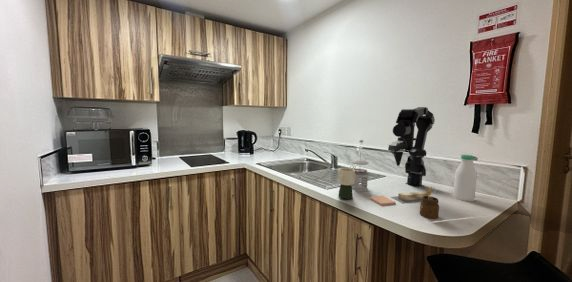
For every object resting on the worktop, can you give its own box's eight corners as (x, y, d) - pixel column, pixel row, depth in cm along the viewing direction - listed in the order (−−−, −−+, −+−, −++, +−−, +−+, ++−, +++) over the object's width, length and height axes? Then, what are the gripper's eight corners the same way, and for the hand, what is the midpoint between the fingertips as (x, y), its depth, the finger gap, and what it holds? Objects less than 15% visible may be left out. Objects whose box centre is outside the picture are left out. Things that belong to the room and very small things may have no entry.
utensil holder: (439, 216, 85) (442, 185, 84) (435, 221, 81) (438, 188, 79) (422, 211, 89) (424, 181, 88) (416, 216, 85) (419, 184, 84)
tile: (382, 195, 103) (369, 196, 101) (395, 202, 96) (381, 203, 94) (382, 199, 103) (369, 200, 102) (395, 206, 96) (381, 207, 94)
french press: (373, 190, 114) (376, 140, 111) (356, 193, 109) (358, 141, 106) (359, 185, 123) (361, 138, 120) (342, 187, 117) (344, 139, 115)
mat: (423, 195, 108) (423, 194, 108) (437, 201, 101) (437, 200, 100) (389, 197, 104) (390, 196, 104) (402, 204, 96) (402, 203, 96)
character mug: (343, 193, 110) (344, 166, 108) (357, 196, 105) (359, 168, 104) (332, 199, 101) (333, 170, 100) (347, 203, 97) (349, 173, 95)
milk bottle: (478, 203, 99) (483, 157, 97) (457, 201, 101) (462, 156, 99) (468, 196, 107) (473, 154, 104) (449, 195, 108) (453, 153, 106)
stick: (424, 196, 105) (425, 191, 105) (428, 198, 103) (429, 193, 103) (398, 198, 102) (398, 193, 102) (402, 200, 100) (402, 195, 99)
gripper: (380, 134, 117) (378, 164, 118) (407, 137, 99) (404, 173, 100) (398, 134, 119) (396, 163, 121) (428, 137, 101) (425, 172, 103)
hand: (404, 167), depth 111 cm, fingers open, 9 cm apart
